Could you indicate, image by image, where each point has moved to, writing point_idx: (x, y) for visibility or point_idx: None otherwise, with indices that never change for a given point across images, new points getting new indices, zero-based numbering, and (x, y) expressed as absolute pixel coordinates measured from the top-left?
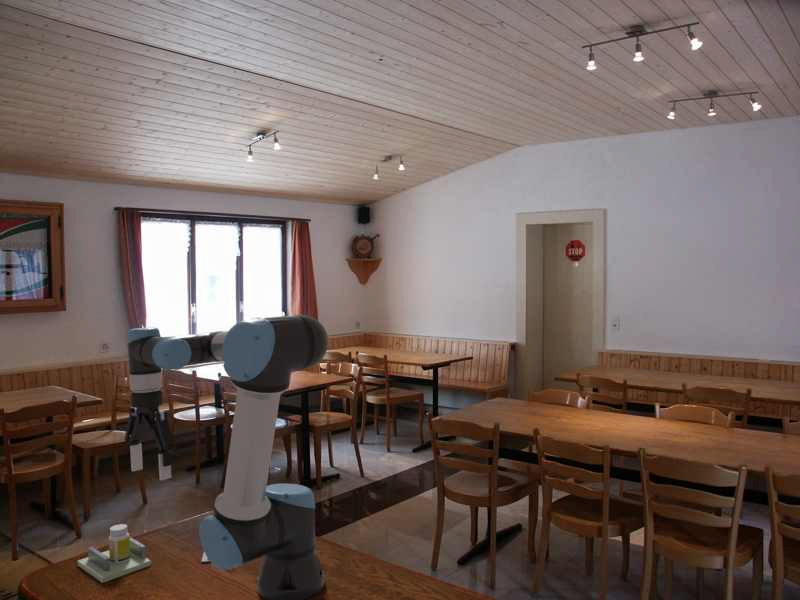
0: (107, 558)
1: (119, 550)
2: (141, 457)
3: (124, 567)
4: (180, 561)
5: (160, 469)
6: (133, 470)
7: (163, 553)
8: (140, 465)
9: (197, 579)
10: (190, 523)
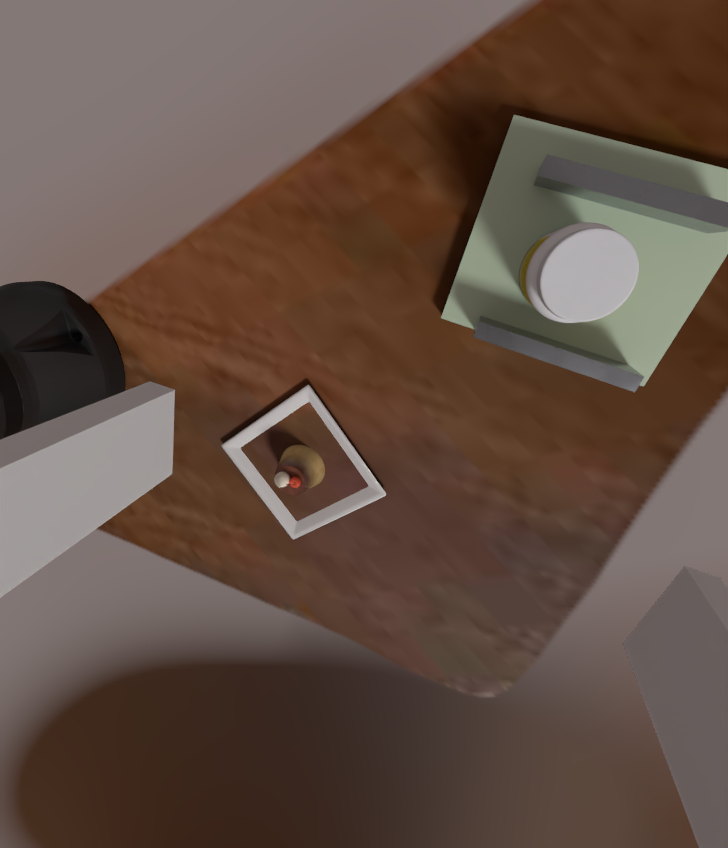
0: (545, 167)
1: (538, 243)
2: (682, 781)
3: (493, 231)
4: (374, 373)
5: (57, 419)
6: (686, 580)
7: (467, 400)
8: (652, 667)
9: (249, 298)
10: (540, 599)
